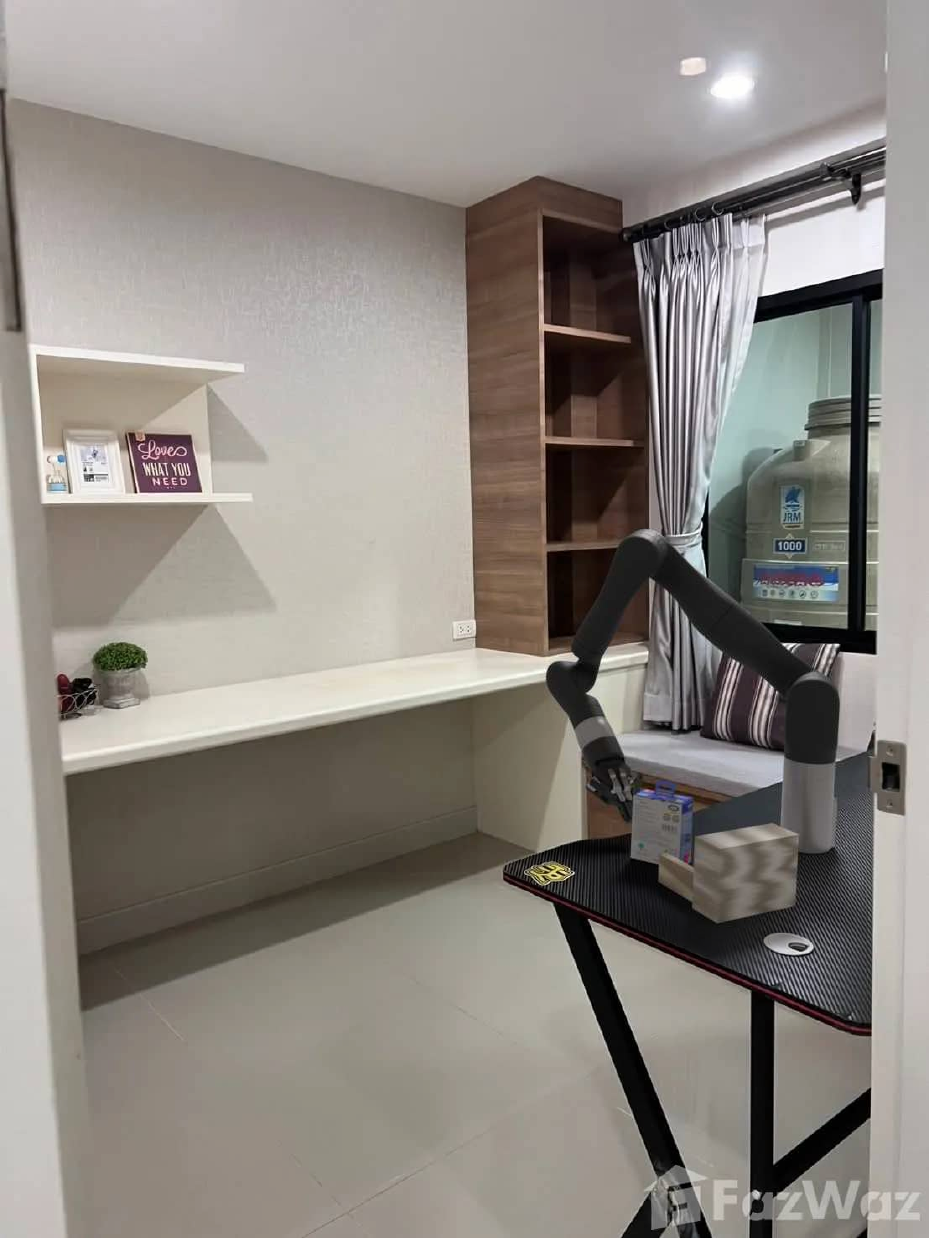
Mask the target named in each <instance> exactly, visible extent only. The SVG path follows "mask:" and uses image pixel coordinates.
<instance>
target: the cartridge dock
mask: <svg viewBox="0 0 929 1238" xmlns="http://www.w3.org/2000/svg"><path fill="white" fill-rule="evenodd" d="M780 826H781V825H778V824H775V823H773V822H771V823H765V824H760V825H753V826H747V827H741V828H736V829H731V830H725V831H724V830H723V831H717V832H713V833H707V834H701V835H696V836H694V855H693V856H694V857H693V866H691V865H690V864H686V863H685V862H683V861H681V860H679V859H677V858H675V857H674V856H672V855H670V854H668V853H662V854H659V865H658V883H660V884H661V885H663V886H665V887H666V888H668V889H670V890H671V891H673V892H675V893H676V894H677V895H679V896H681V897H683V898H685V899H686V900H688V901H689V902H691V903H692V905H691V906H692V907H691V909H692V910H694V911H696V912H698V913H699V914H702V915H703V916H704V917H706V918H708V920H711V921H712V922H714V923H715V924H720V923H726V922H728V921H729V922H731V921H733V920H738V919H743V918H747V917H751V916H756V915H761V914H765V913H768V912H769V913H770V912H773V911H779V910H782V909H788V908H791V907H795V906H796V897H797V896H796V895H797V879H798V878H797V875H798V863H799V862H798V861H799V860H798V859H799V857H798V856H799V852H798V843H799V834H796V833H794V832H792V831H789V830H787V829H785V828H782V827H780Z"/></svg>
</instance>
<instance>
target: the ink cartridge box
mask: <svg viewBox="0 0 929 1238" xmlns="http://www.w3.org/2000/svg"><path fill="white" fill-rule="evenodd" d="M676 785H677V783H676V782H671V781H665V780H661V779H658V780H657V783H656V785H655V788H654V790H651V789H643V790H640V792H638V793H637V794H635V795H633V816H632V823H631V843H630V859H634V860H638V861H643V862H647V863H651V864H655V865H658V866H659V854H662V853H668V854H670V855H672V856H674V857H675V858H677V859H679V860H681V861H683V862H685V863H686V864H688V865H690V863H691V861H692V860H691V859H692V836H693V835H692V833H693V815H694V814H693V812H694V810H693V809H694V797H691V796H685V795H680V794H675V791H676ZM660 786H667V787H670V788H671V789H670V790H669V789H664V788H660Z"/></svg>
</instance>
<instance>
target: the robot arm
mask: <svg viewBox="0 0 929 1238" xmlns="http://www.w3.org/2000/svg"><path fill="white" fill-rule="evenodd" d="M649 579H651V580H652V581H654V582H655V583H657V584H658V585H659V586H660V587H661V588H663V589H664V590H665V591H667V592H668V594H670V596H671V597H673V599H674V600H675V601H676V603H677V605H679V607H680V608H681V610H682V611H683V613H684V615H685V616H686V618H687V619H688V620H689V622H690V623H691V625H692V626H693V627H694V629H696V631H697V632H698V633H699V634H700V635H701V636H702V637H704V638H705V639H706V640H707V641H708V642H710V644H712V645H713V646H714V648H716V649H718V650H719V651H720V652H722V653H723V654H724V655H726V656H727V657H729V659H732V660H733V661H735V662H737V663H738V664H741V665H742V666H744V667H745V668H747V669H749V670H751V671H753V672H754V673H756V674H757V675H758V676H760V677H761V678H762V679H763V680H765V681H766V682H767V683H768V684H769V685H770V686H771V687H773V689H775V691H776V692H778V694H779V695H780V696H781V697H782V698H783V699H784V700H785V702H786V707H785V709H786V710H785V712H786V713H785V727H784V728H785V730H784V748H783V749H784V750H783V751H784V752H783V769H782V770H783V771H782V772H783V773H782V789H781V811H780V812H781V813H780V825H779V826H780V827H782V828H785V829H787V830H789V831H792V832H794V833H796V834H799V843H798V853H802V854H803V853H804V854H824V853H827V852H829V851H830V850H831V849H832V848H835V845H836V827H837V810H838V809H837V808H838V799H837V798H836V797H834V795H835V779H836V777H835V776H836V763H837V762H836V760H837V751H838V750H837V749H838V742H839V728H840V727H839V726H840V725H839V723H840V713H841V712H840V711H841V710H840V709H841V707H840V706H841V704H840V703H841V701H840V694H839V691H838V689H837V688H838V687H837V686H836V685H835V682H834V681H832V680H831V678H829V676H827V675H825V674H824V673H822V672H821V671H819V670H818V669H816V668H815V667H813V666H811V665H810V664H809V663H807V662H806V661H804V660H803V659H802V658H800V657H799V656H798V655H796V654H795V653H793V652H792V651H790V649H788V648H787V647H786V646H785V645H784V644H783V643H782V642H780V640H779V639H778V638H777V637H776V636H775V635H774V634H773V633H772V632H771V631H770V630H769V629H768V628H767V627H766V626H765V625H764V624H763V623H762V622H761V621H760V620H758V618H757V617H756V616H754V615H753V614H752V613H751V612H750V611H748V609H746V608H745V607H744V606H743V605H741V604H740V603H739V602H738V601H736V600H735V599H734V598H733V597H732V596H730V595H729V594H728V593H726V591H724V590H723V589H722V588H721V587H719V585H717V584H716V583H714V582H713V581H712V580H711V579H709V578H708V577H707V576H705V574H703V573H701V572H700V571H699V570H698V569H697V568H696V567H694V566H693V565H692V564H691V563H690V562H689V561H688V560H687V559H686V558H685V557H684V556H683V555H682V553H680V552H679V551H678V549H676V547H674V546H673V544H672V543H671V542H670V540H668V539H667V538H666V537H665V536H663V535H662V534H661V533H660V532H658V531H656V530H653V529H648V528H647V529H646V528H643V529H638V530H636V531H634V532H633V533H630V534H629V535H627V536H626V537H624V538H623V539H622V540H621V541H620V543H619V544H618V546H617V548H616V551H615V554H614V556H613V559H612V562H611V564H610V568H609V571H608V573H607V576H606V579H605V580H604V583H603V584H602V588H601V590H600V592H599V593H598V596H597V598H596V600H594V601H595V602H594V603H593V605H592V606H591V608H590V609H589V611H588V613H587V615H586V616H585V618H584V619H583V621H582V623H581V625H580V627H579V628H578V630H577V632H576V634H575V635H574V637H573V638H572V641H571V643H570V651H571V652H572V654H573V656H575V657H576V658H577V660H576V661H570V660H568V661H567V660H556V661H554V662H552V663H550V665H548V667H547V669H546V672H545V682H546V685H547V688H548V690H549V693H550V694H551V695H552V697H553V698H554V699H555V701H556V702H557V704H558V706H560V708H561V709H562V710H563V711H564V712H565V713H566V715H567V716H568V719H569V721H570V724H571V726H572V728H573V731H574V733H575V737H576V741H577V743H578V746H579V748H580V751H581V753H582V755H583V758H584V761H585V763H586V766H587V768H588V770H589V771H590V772H591V774H590V775H591V776H590V777H591V779H589V781H588V783H586V785H585V789H586V790H587V791H588V792H589V793H590V794H592V795H594V797H596V798H597V799H598V800H600V801H602V803H604V804H605V805H607V807H608V806H609V807H610V806H611V805H612V806H615V807H616V808H617V810H618V812H619V815H620V817H621V819H622V821H623V822H625V824H628V825H629V824H632V816H633V795H635V794H637V793H638V792H640V791H641V788H642V783H643V781H644V777H645V776H644V774H643V773H642V772H637V773H636V772H634V771H632V770H631V767H630V766H629V765H628V764H627V763H626V760H625V759H626V758H625V754H624V752H623V750H622V747H621V745H620V743H619V740H618V738H617V736H616V735H615V732H614V730H613V728H612V726H611V724H610V723H609V721H608V719H607V717H606V714H605V713H604V710H603V708H602V706H601V704H600V702H599V700H598V699H597V698H596V697H595V696H593V695H590V694H588V693H589V692H590V691H591V690H592V688H594V686H595V684H596V681H597V678H598V674H599V670H600V668H601V667H600V666H601V663H602V658H603V656H604V654H605V653H606V651H607V650H608V648H609V646H610V645H611V643H612V642H613V639H614V637H615V635H616V634H617V632H618V630H619V628H620V625H621V622H622V621H623V617H624V615H625V612H626V610H627V608H628V607H629V604H630V603H631V601H632V600H633V599H634V597H635V595H636V594H637V593H638V592H639V591H640V589H641V588H642V587H643V586H644V584H645V583H646V582H647V581H648V580H649Z"/></svg>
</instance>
